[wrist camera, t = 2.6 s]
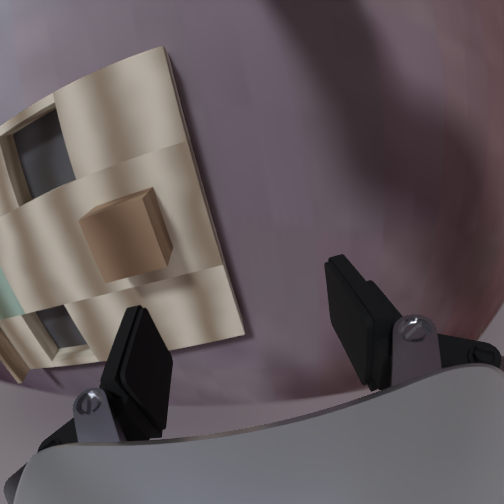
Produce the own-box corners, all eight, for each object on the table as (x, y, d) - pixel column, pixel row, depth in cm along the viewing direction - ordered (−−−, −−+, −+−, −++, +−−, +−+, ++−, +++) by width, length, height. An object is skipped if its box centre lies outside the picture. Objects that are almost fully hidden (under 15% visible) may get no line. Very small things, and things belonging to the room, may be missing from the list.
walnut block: (152, 186, 25) (142, 198, 22) (173, 247, 28) (167, 267, 24) (95, 206, 25) (78, 220, 22) (117, 262, 28) (105, 283, 24)
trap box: (168, 52, 23) (156, 37, 17) (242, 318, 36) (247, 352, 30) (-53, 176, 23) (-81, 189, 17) (32, 356, 35) (18, 383, 30)
